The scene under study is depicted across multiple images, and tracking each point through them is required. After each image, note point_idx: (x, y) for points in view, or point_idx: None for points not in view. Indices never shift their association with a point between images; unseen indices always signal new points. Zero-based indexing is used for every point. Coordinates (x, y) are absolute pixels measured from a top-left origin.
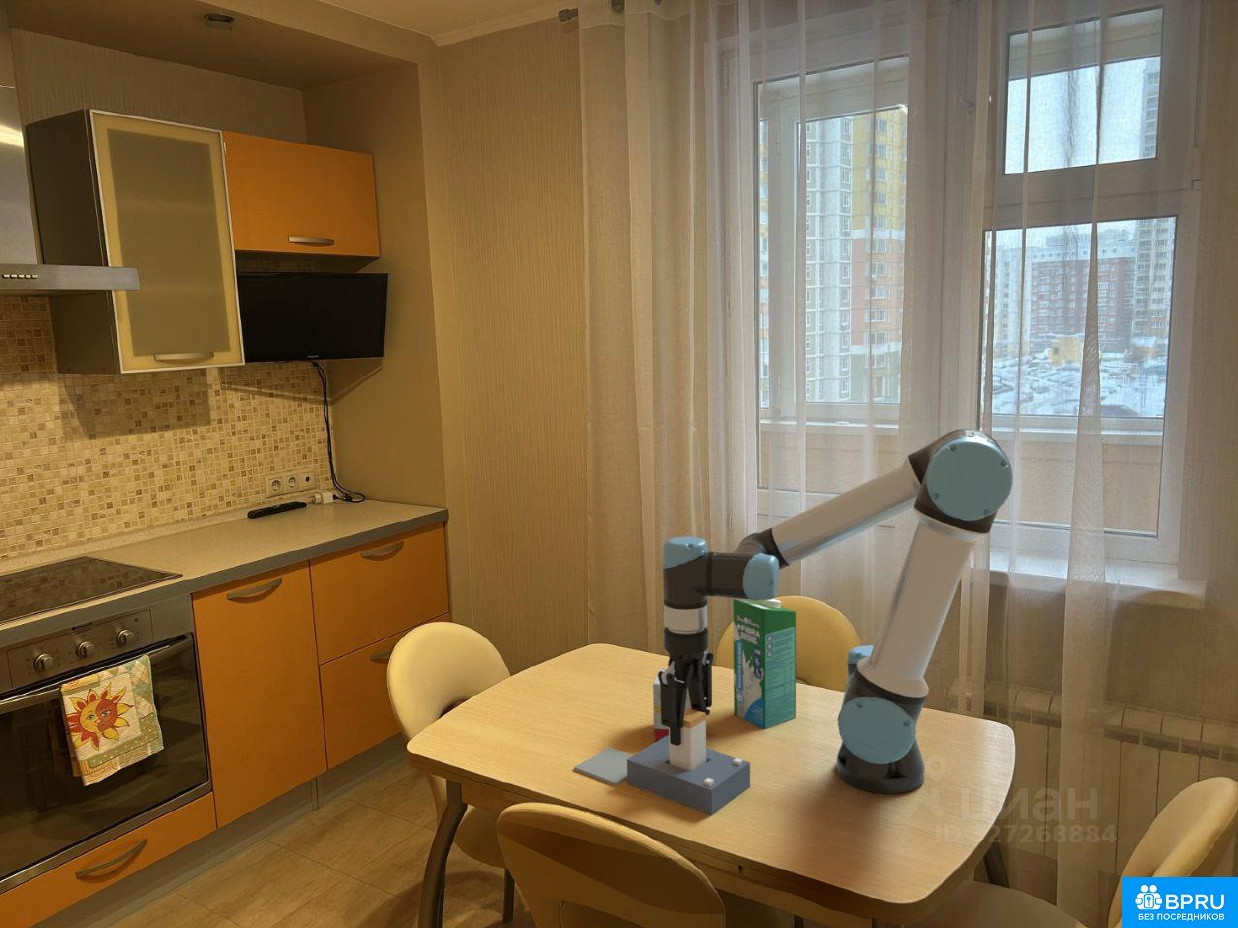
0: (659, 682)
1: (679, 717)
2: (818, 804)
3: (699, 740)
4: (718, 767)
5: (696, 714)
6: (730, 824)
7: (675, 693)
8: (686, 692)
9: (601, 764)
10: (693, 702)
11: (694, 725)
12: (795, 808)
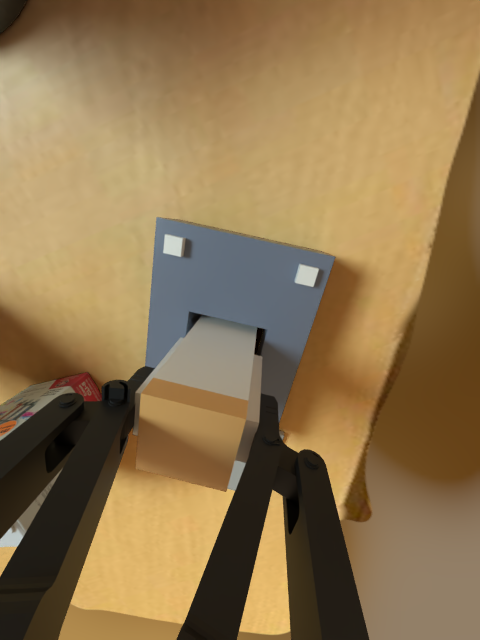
0: (15, 536)
1: (276, 470)
2: (176, 15)
3: (208, 355)
4: (219, 282)
5: (171, 417)
6: (344, 200)
7: None
8: (201, 585)
9: (238, 469)
10: (116, 460)
11: (223, 396)
12: (221, 73)
